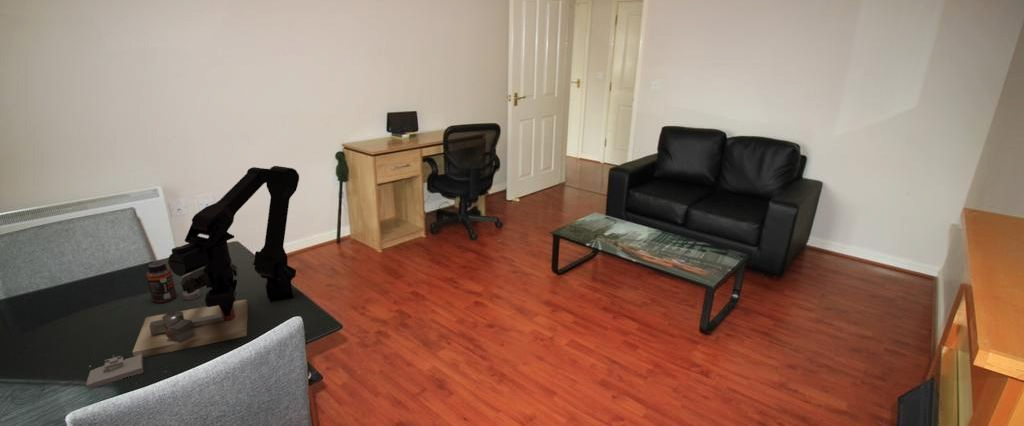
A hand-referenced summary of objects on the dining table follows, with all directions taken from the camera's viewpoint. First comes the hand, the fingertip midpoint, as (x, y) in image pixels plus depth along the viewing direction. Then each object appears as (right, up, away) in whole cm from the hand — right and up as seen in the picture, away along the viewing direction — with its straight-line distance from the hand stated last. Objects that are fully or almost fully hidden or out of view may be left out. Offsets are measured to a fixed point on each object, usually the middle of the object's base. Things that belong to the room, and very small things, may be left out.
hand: (227, 312), depth 131 cm
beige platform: (-16, -11, -17) cm, 25 cm away
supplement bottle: (-27, +1, +14) cm, 30 cm away
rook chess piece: (-20, +1, +15) cm, 25 cm away
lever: (-7, -2, -3) cm, 8 cm away
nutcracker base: (-8, -4, -1) cm, 9 cm away
